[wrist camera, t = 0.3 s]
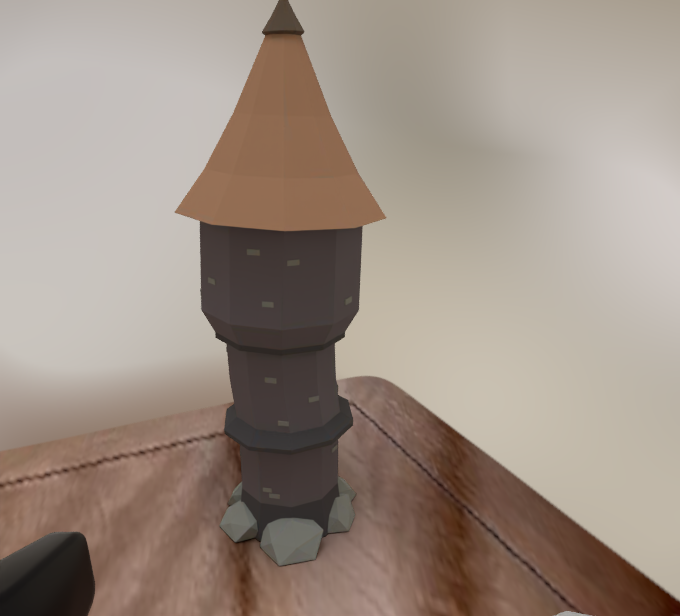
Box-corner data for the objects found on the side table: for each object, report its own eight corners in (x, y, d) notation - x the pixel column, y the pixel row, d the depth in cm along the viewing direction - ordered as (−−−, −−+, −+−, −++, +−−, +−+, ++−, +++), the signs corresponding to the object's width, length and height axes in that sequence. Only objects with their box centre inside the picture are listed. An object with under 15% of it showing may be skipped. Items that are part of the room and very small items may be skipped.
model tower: (358, 448, 41) (367, -66, 32) (388, 567, 31) (416, -144, 21) (212, 456, 40) (175, -73, 30) (192, 581, 30) (128, -159, 20)
